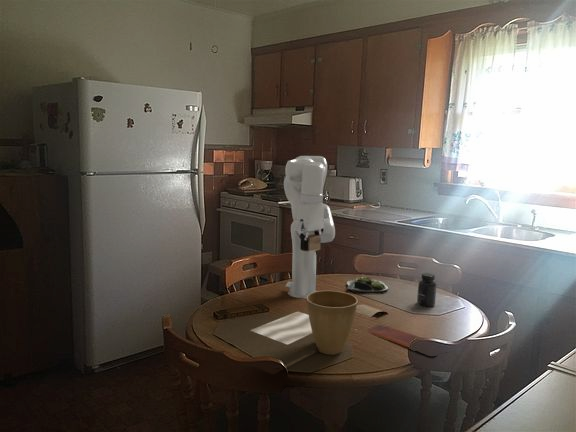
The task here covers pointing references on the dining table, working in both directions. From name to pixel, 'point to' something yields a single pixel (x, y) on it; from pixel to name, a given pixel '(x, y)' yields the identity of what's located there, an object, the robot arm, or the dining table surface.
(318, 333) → the plant pot
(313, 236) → the sanding block
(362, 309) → the clay tablet
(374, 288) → the salad plate
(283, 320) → the white flat rectangle
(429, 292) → the supplement bottle
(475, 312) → the dining table surface
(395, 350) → the dining table surface
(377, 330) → the wooden tablet
